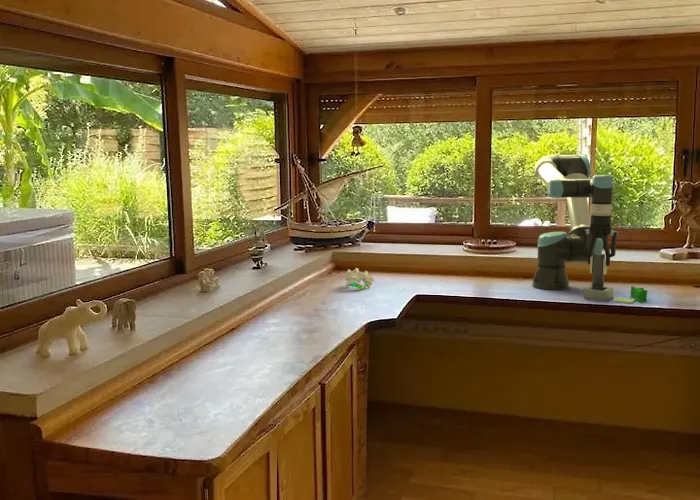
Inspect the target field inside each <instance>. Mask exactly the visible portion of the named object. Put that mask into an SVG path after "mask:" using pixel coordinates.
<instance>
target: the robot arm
mask: <svg viewBox="0 0 700 500" xmlns="http://www.w3.org/2000/svg"><path fill="white" fill-rule="evenodd" d="M533 168H534V169H533V171H534V175H535V177H536V178H537V179H538V180H539V181H541V182H544V183H545V184H546V186H547V187H546V192H547V196H548V197H549V198H554V199H555V198H556V199H560V198H561V199H564V198H566V205H567V210H568V217H569V225H570V231H569V232H568V234H567V232H566V231H551V232H544V233H541V234H540V235H539V236H538V239H537V260H536V261H537V264H536V265H537V266H536V270H535V274H534V276H533V278H532V284H531V285H532V287H534V288H536V289H541V290H555V291H556V290H557V291H558V290H565V289H566V290H567V289H568V288H570V281H569V278H568V274H567V270H566V263H587V265H589V273H590V274H592V272H593V254H596V253H600V254H603V250H604V254H605V258H604V264H603V274H604V275H606V274H607V273H608V267H609V266H610V265H611V258H613V257H615V256H616V254H617V253H616V251H617V238H618V235H619V231H618V230H617V231H615V230H613V228H612V216H611V214H612V207H613V205H612V204H613V190H614V189H613V187H614V181H613V180H614V179H613V175H611V174H595V175H593V176H592V177H591V163H590V160H589V159H588V157H587V156H586V155H584V154H577V153H575V154H547V155H546V156H545V155H544V156H543V157H542V158H540V159H538V161H537V162H536V163H535V165H534V167H533ZM590 177H591V178H590ZM588 198H589V199H591V204H590V205H591V207H590V208H591V209H590V208H589V203H588ZM590 213H591V215H590ZM609 234H610V235H611V236H612V237H611V243H610V244H611V245H609V238H608V236H610V235H609ZM603 248H604V249H603Z"/></svg>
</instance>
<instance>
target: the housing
mask: <svg viewBox="0 0 700 500" xmlns="http://www.w3.org/2000/svg"><path fill="white" fill-rule="evenodd" d="M613 297H614V287H613V286H604V287H593V286H592V284H590V285H588V286H586V287H585V288H584V289H583V299H584V300H590V301H591V300H592V301H600V302H602V301H603V302H608V301H610V300H612V299H613Z"/></svg>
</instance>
